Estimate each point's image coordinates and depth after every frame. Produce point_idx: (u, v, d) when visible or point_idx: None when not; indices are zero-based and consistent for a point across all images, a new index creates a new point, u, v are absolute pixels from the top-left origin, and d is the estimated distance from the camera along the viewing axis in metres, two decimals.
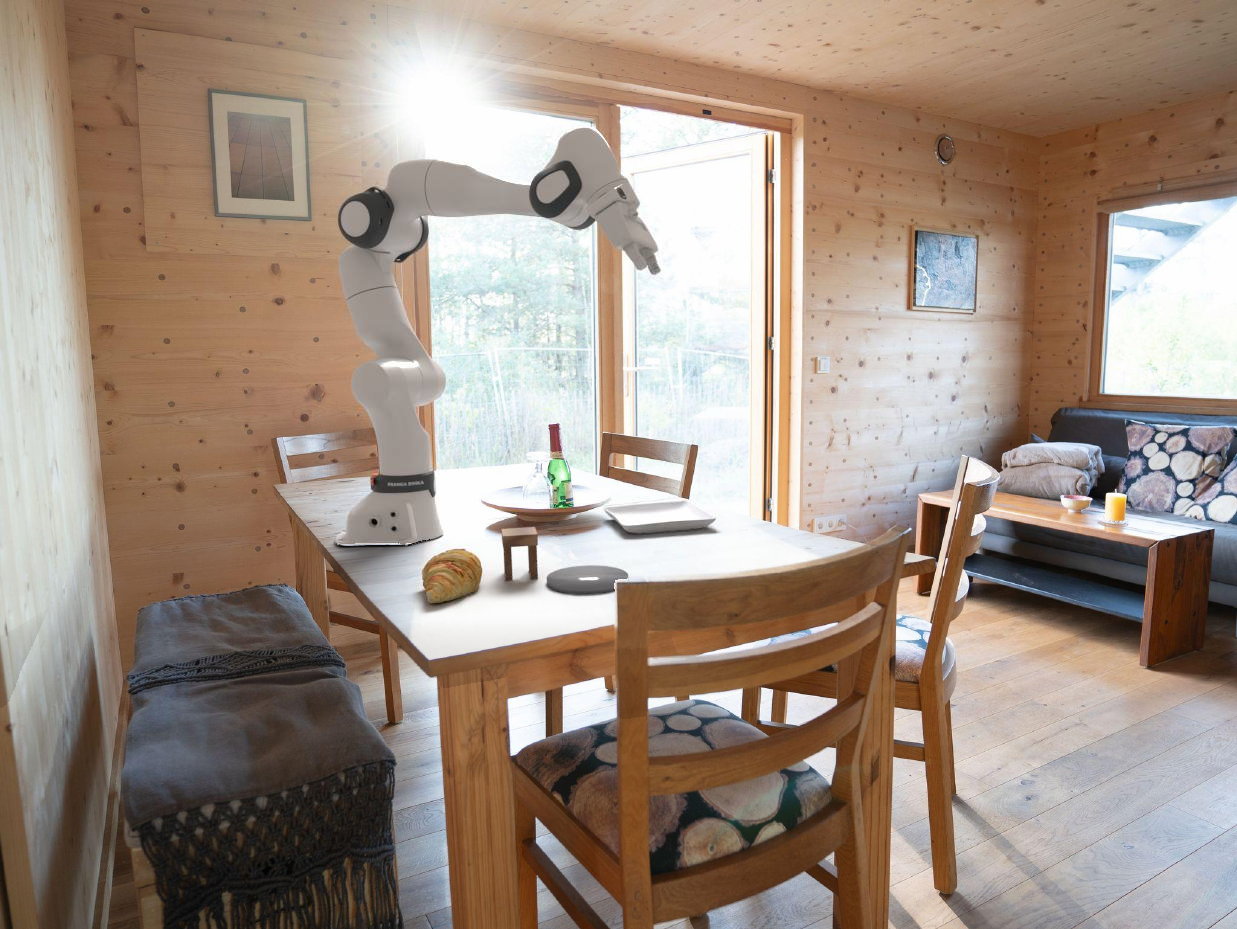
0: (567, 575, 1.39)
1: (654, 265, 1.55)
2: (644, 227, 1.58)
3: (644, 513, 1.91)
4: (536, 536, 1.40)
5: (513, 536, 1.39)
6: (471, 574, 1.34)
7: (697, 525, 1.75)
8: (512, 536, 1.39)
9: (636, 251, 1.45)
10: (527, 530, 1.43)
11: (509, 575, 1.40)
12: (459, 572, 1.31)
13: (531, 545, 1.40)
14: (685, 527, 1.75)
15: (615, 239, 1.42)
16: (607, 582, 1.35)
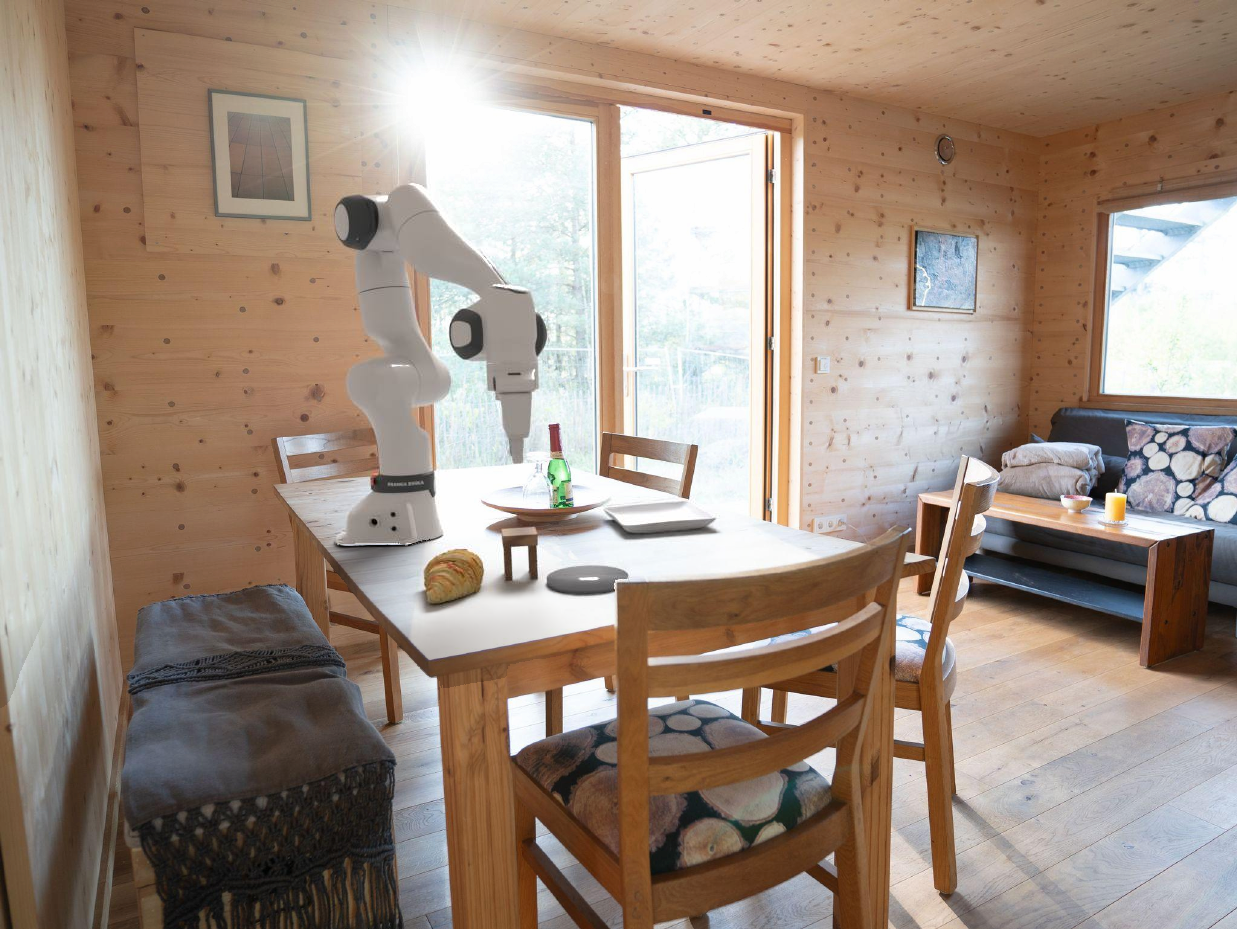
0: (567, 575, 1.39)
1: None
2: None
3: (644, 513, 1.91)
4: (536, 536, 1.40)
5: (513, 536, 1.39)
6: (472, 574, 1.34)
7: (697, 524, 1.75)
8: (512, 536, 1.39)
9: (522, 446, 1.34)
10: (527, 530, 1.43)
11: (509, 575, 1.40)
12: (460, 572, 1.31)
13: (531, 545, 1.40)
14: (685, 527, 1.75)
15: (513, 431, 1.30)
16: (607, 582, 1.35)
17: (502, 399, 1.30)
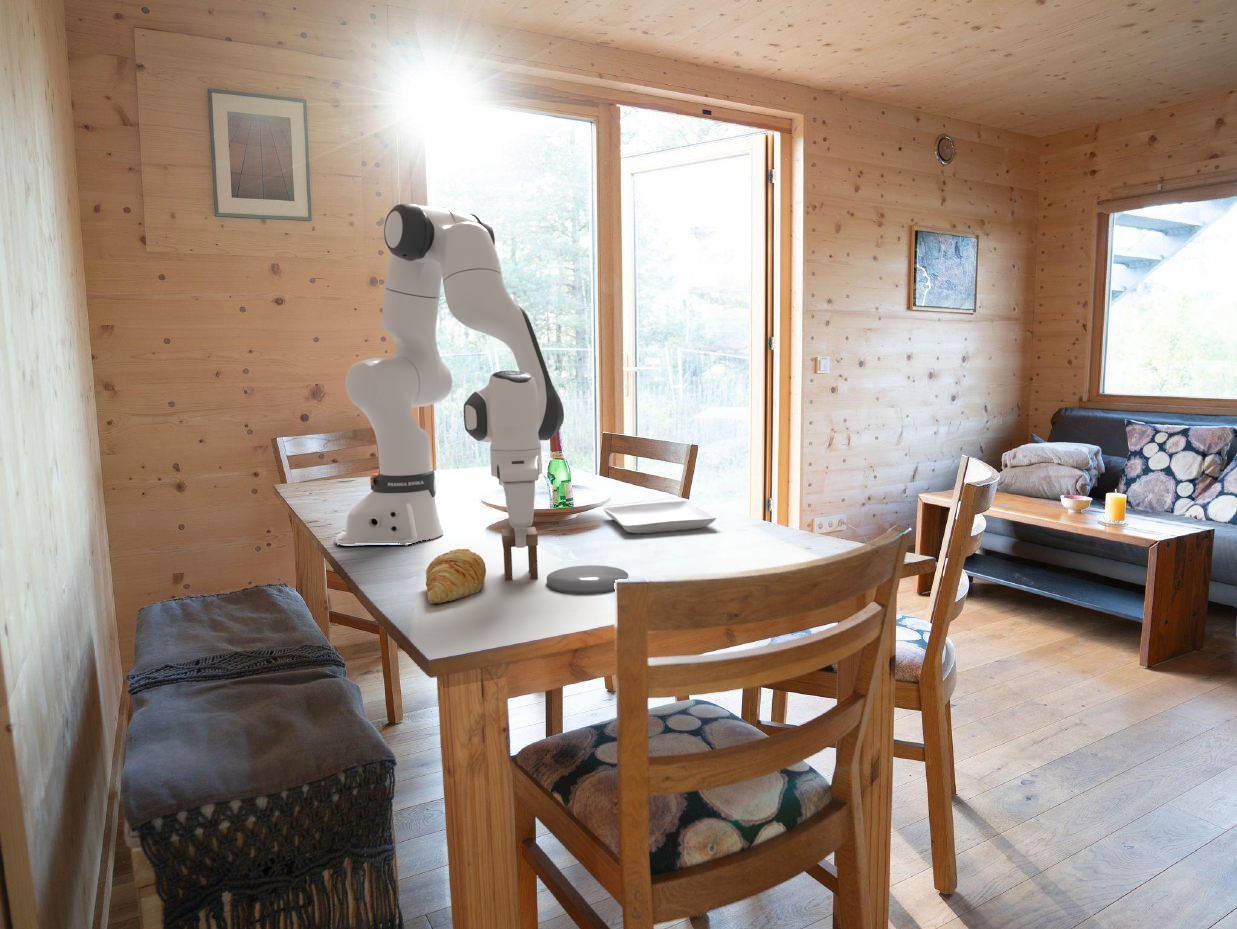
0: (567, 575, 1.39)
1: None
2: None
3: (644, 513, 1.91)
4: (536, 536, 1.40)
5: (513, 536, 1.39)
6: (474, 575, 1.33)
7: (698, 525, 1.75)
8: (512, 536, 1.39)
9: (525, 531, 1.37)
10: (527, 530, 1.43)
11: (509, 575, 1.40)
12: (461, 573, 1.31)
13: (531, 545, 1.40)
14: (685, 527, 1.75)
15: (516, 521, 1.32)
16: (607, 582, 1.35)
17: (506, 489, 1.32)
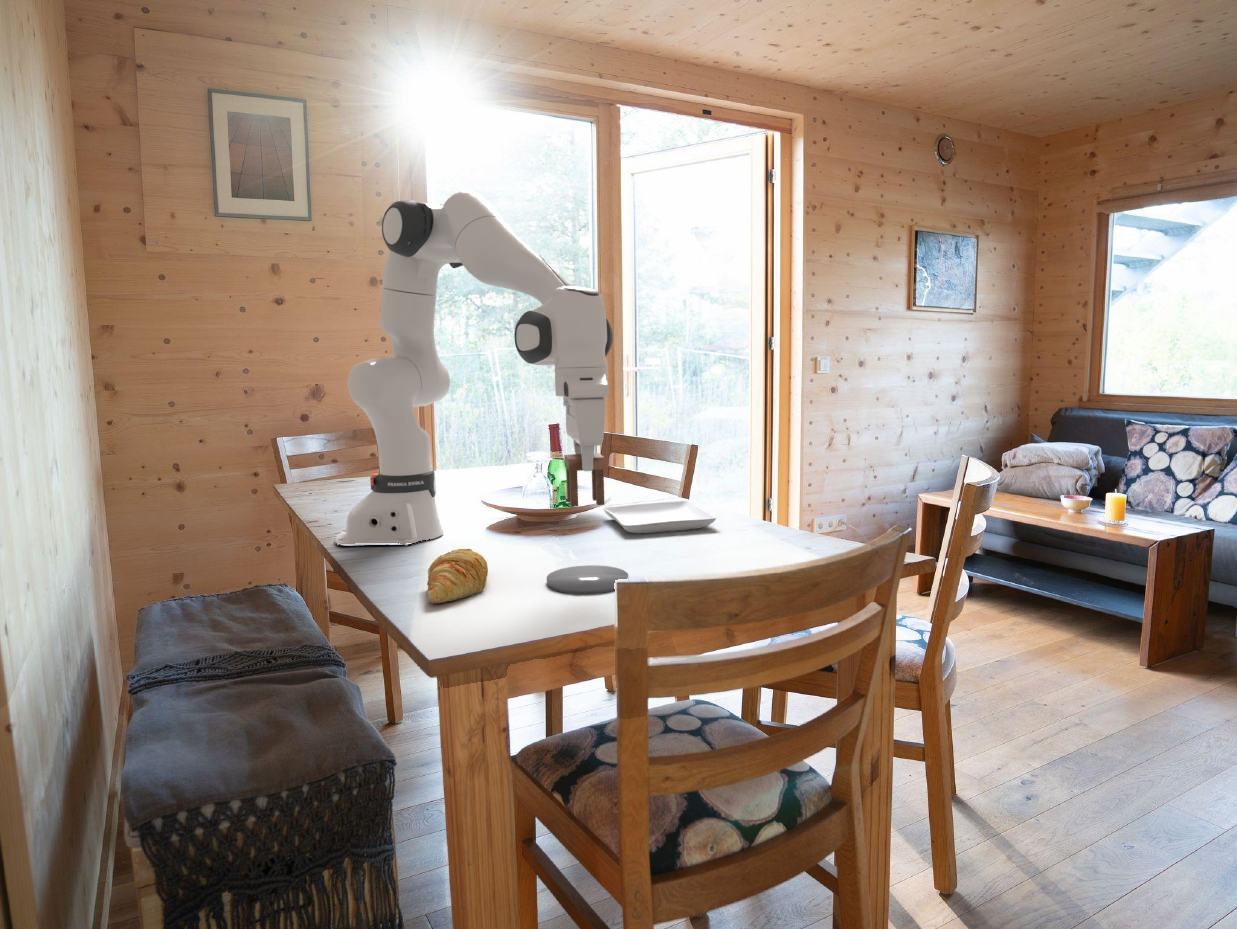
0: (567, 575, 1.39)
1: None
2: None
3: (644, 513, 1.91)
4: (603, 459, 1.33)
5: (579, 459, 1.33)
6: (475, 575, 1.33)
7: (698, 525, 1.75)
8: (578, 459, 1.33)
9: (592, 453, 1.31)
10: None
11: (574, 501, 1.34)
12: (462, 572, 1.31)
13: (598, 469, 1.33)
14: (685, 527, 1.75)
15: (586, 439, 1.25)
16: (607, 582, 1.35)
17: (575, 405, 1.25)
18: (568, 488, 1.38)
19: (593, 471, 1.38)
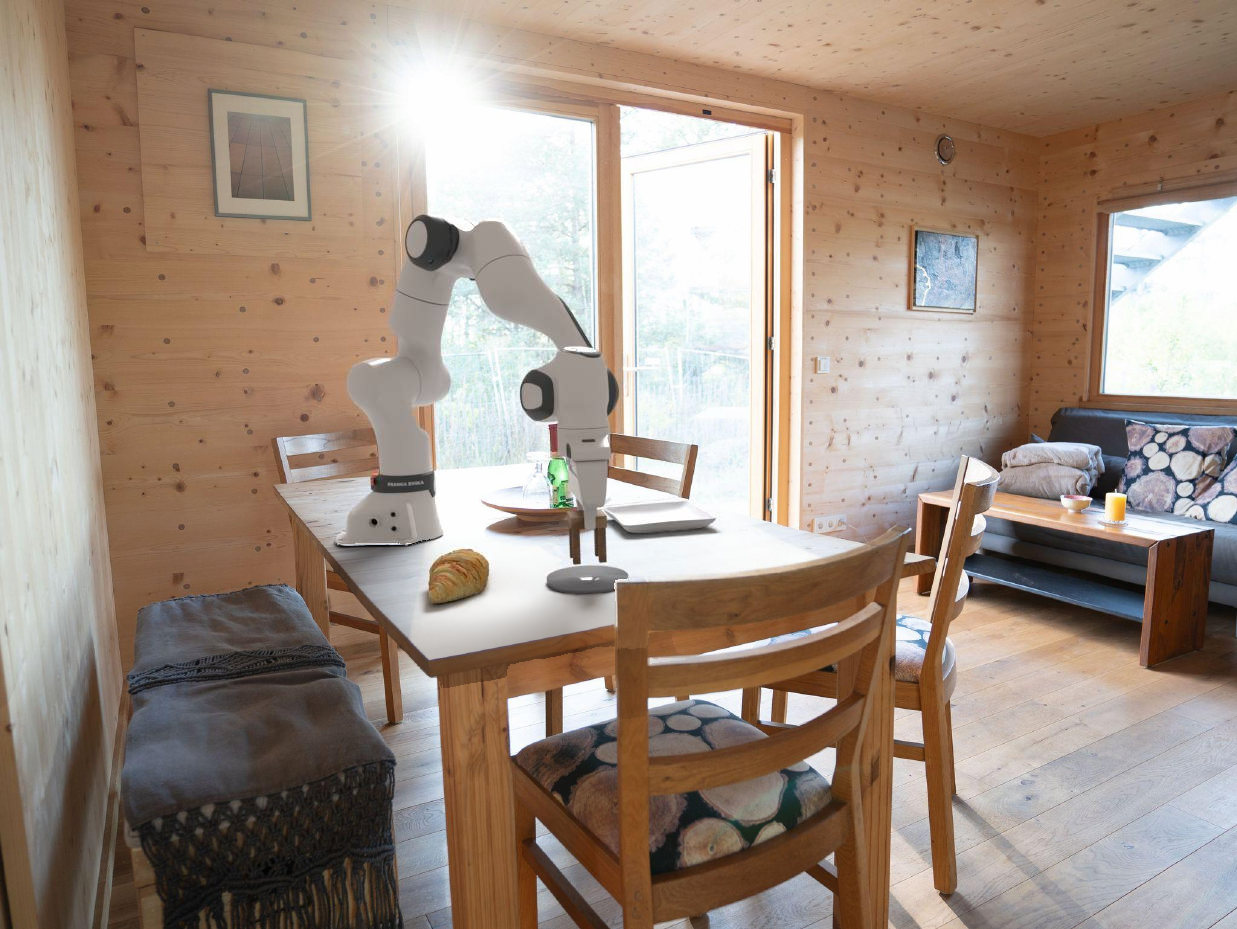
0: (567, 575, 1.39)
1: None
2: None
3: (644, 513, 1.91)
4: (605, 518, 1.35)
5: (582, 518, 1.34)
6: (476, 575, 1.33)
7: (698, 525, 1.75)
8: (581, 518, 1.34)
9: (595, 513, 1.32)
10: None
11: (577, 559, 1.35)
12: (462, 573, 1.31)
13: (600, 527, 1.35)
14: (685, 527, 1.75)
15: (589, 501, 1.27)
16: (607, 582, 1.35)
17: (578, 468, 1.27)
18: (571, 544, 1.39)
19: None
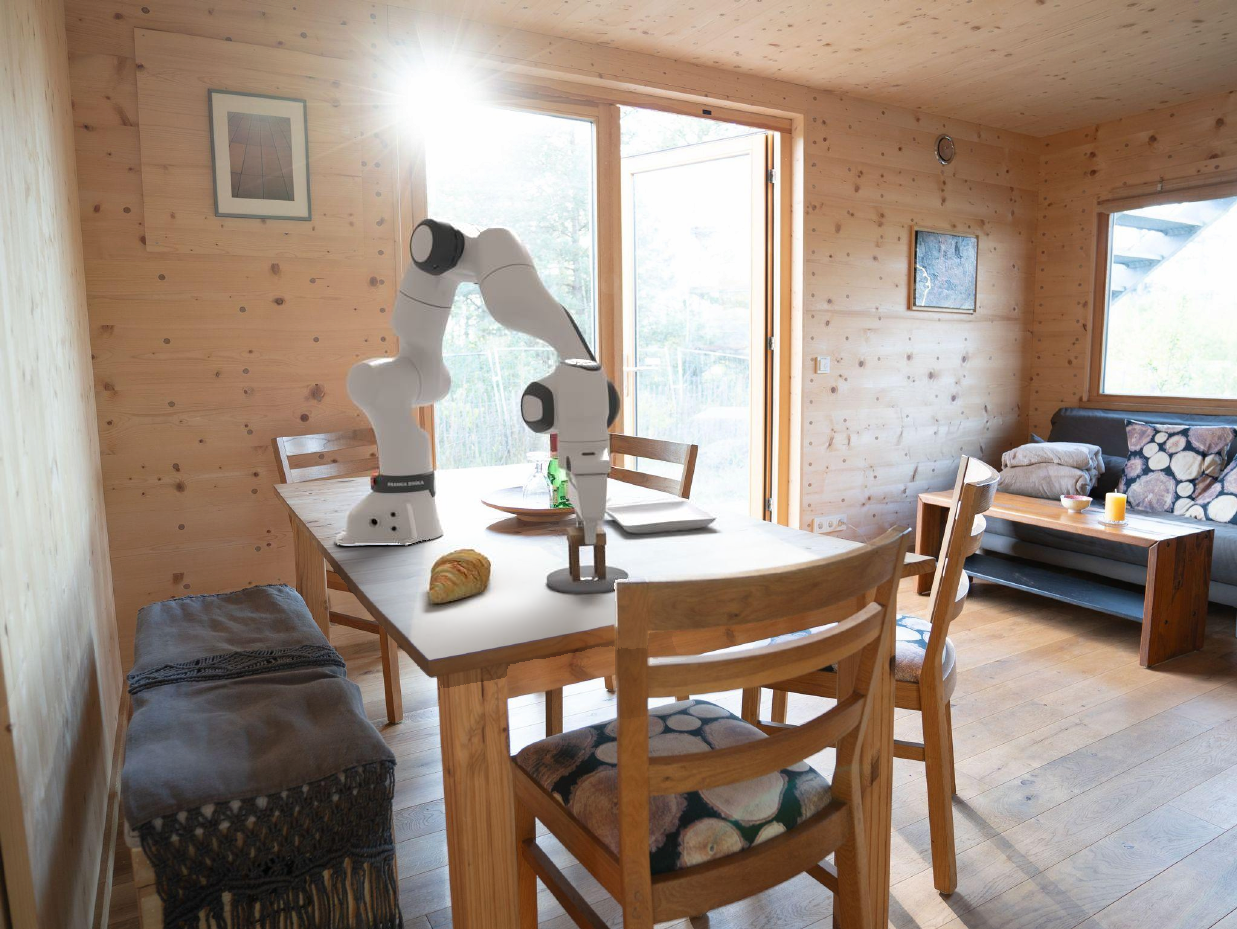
0: (567, 575, 1.39)
1: None
2: None
3: (644, 513, 1.91)
4: (605, 535, 1.35)
5: (581, 535, 1.34)
6: (476, 575, 1.33)
7: (698, 524, 1.75)
8: (580, 535, 1.34)
9: (595, 527, 1.31)
10: None
11: (576, 576, 1.35)
12: (463, 573, 1.31)
13: (599, 544, 1.35)
14: (685, 527, 1.75)
15: (588, 514, 1.27)
16: (607, 582, 1.35)
17: (578, 481, 1.27)
18: (570, 561, 1.39)
19: (595, 544, 1.40)
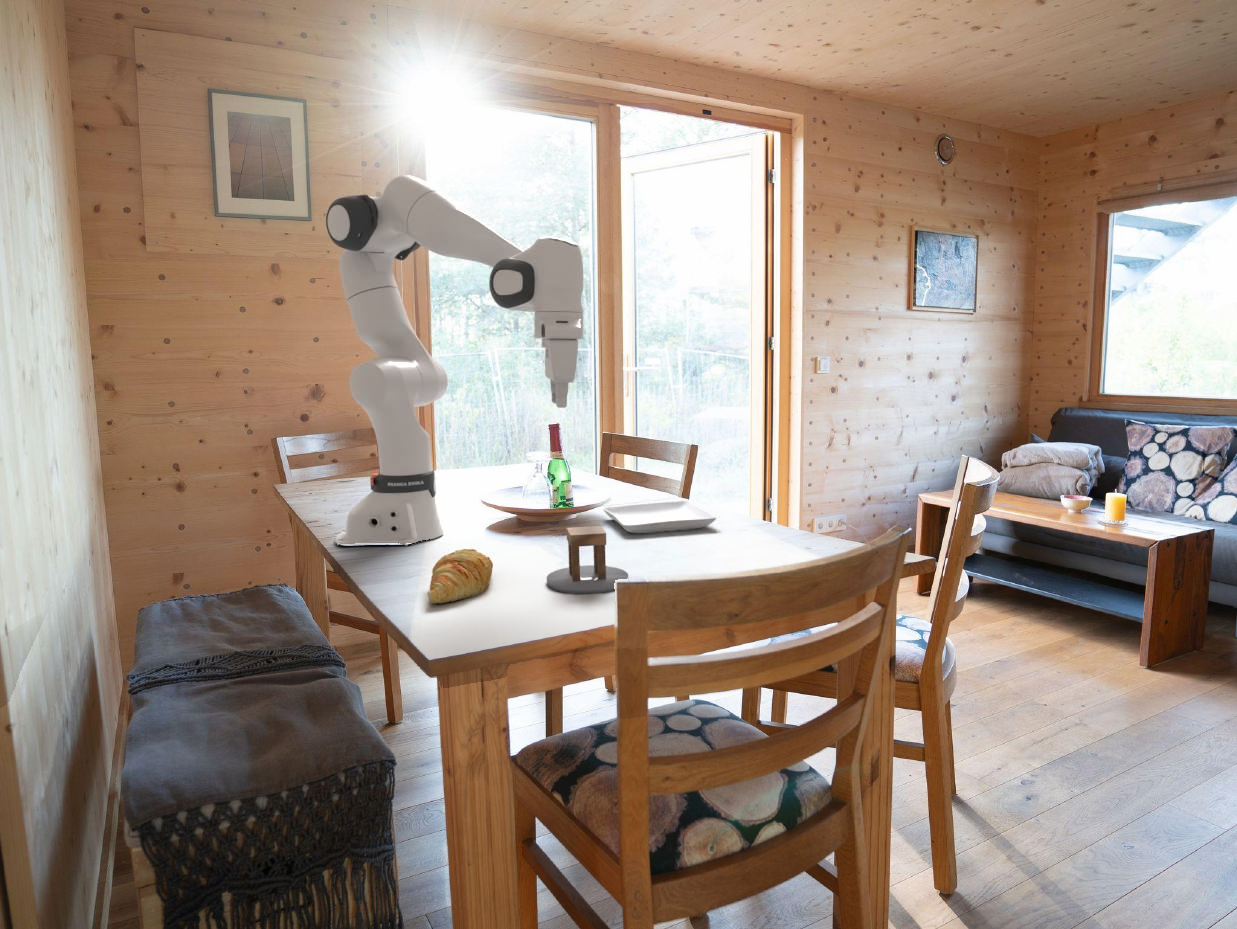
0: (567, 575, 1.39)
1: None
2: None
3: (644, 513, 1.91)
4: (605, 535, 1.35)
5: (581, 535, 1.34)
6: (477, 575, 1.33)
7: (698, 524, 1.75)
8: (580, 535, 1.34)
9: (566, 391, 1.42)
10: (594, 529, 1.38)
11: (576, 576, 1.35)
12: (463, 573, 1.31)
13: (599, 544, 1.35)
14: (685, 527, 1.75)
15: (559, 375, 1.38)
16: (607, 582, 1.35)
17: (550, 345, 1.37)
18: (570, 561, 1.39)
19: None
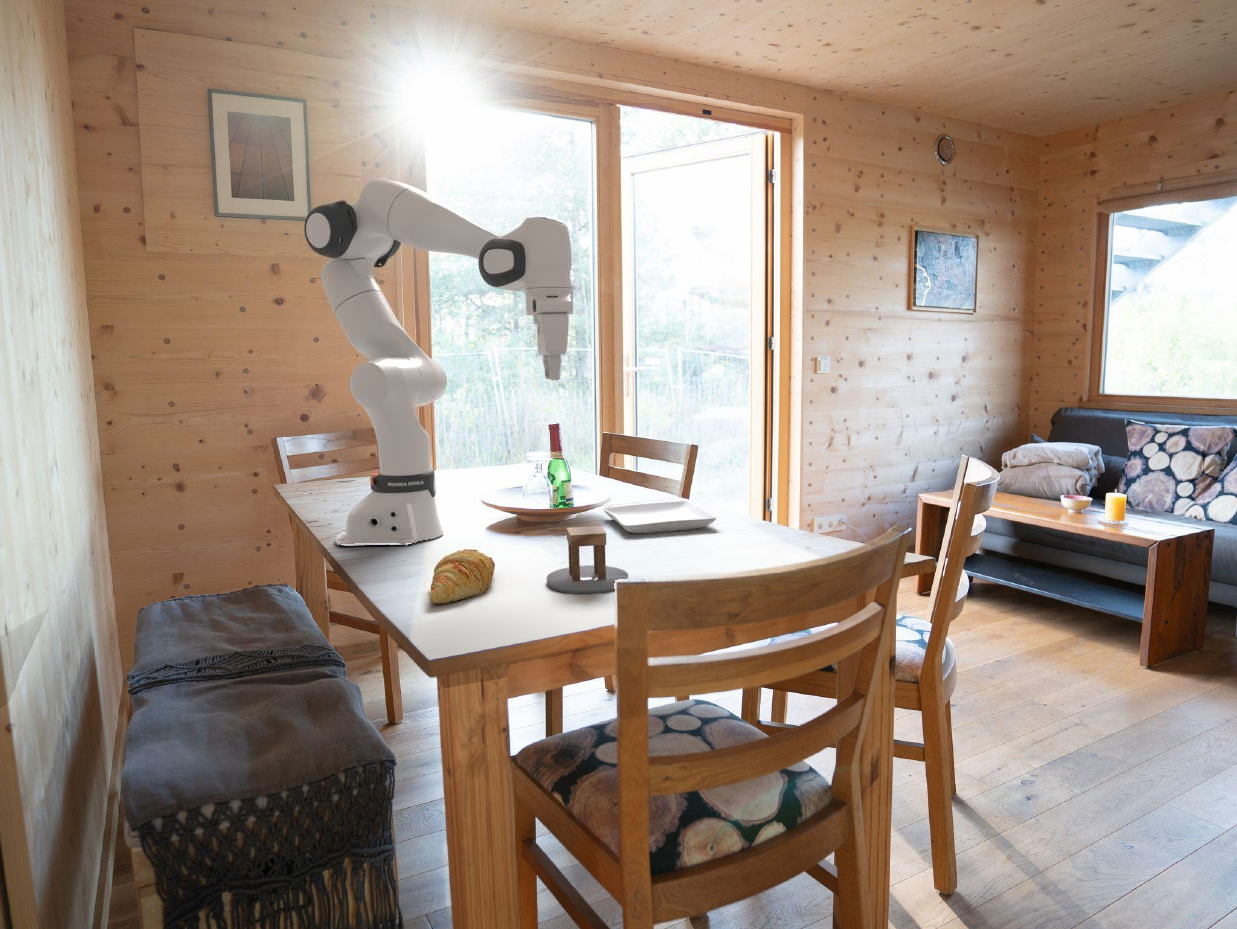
0: (567, 575, 1.39)
1: None
2: None
3: (644, 513, 1.91)
4: (605, 535, 1.35)
5: (581, 535, 1.34)
6: (478, 575, 1.33)
7: (698, 524, 1.75)
8: (580, 535, 1.34)
9: (559, 364, 1.47)
10: (594, 529, 1.38)
11: (576, 576, 1.35)
12: (464, 573, 1.30)
13: (599, 544, 1.35)
14: (685, 527, 1.75)
15: (552, 347, 1.42)
16: (607, 582, 1.35)
17: (542, 318, 1.42)
18: (570, 561, 1.39)
19: None
